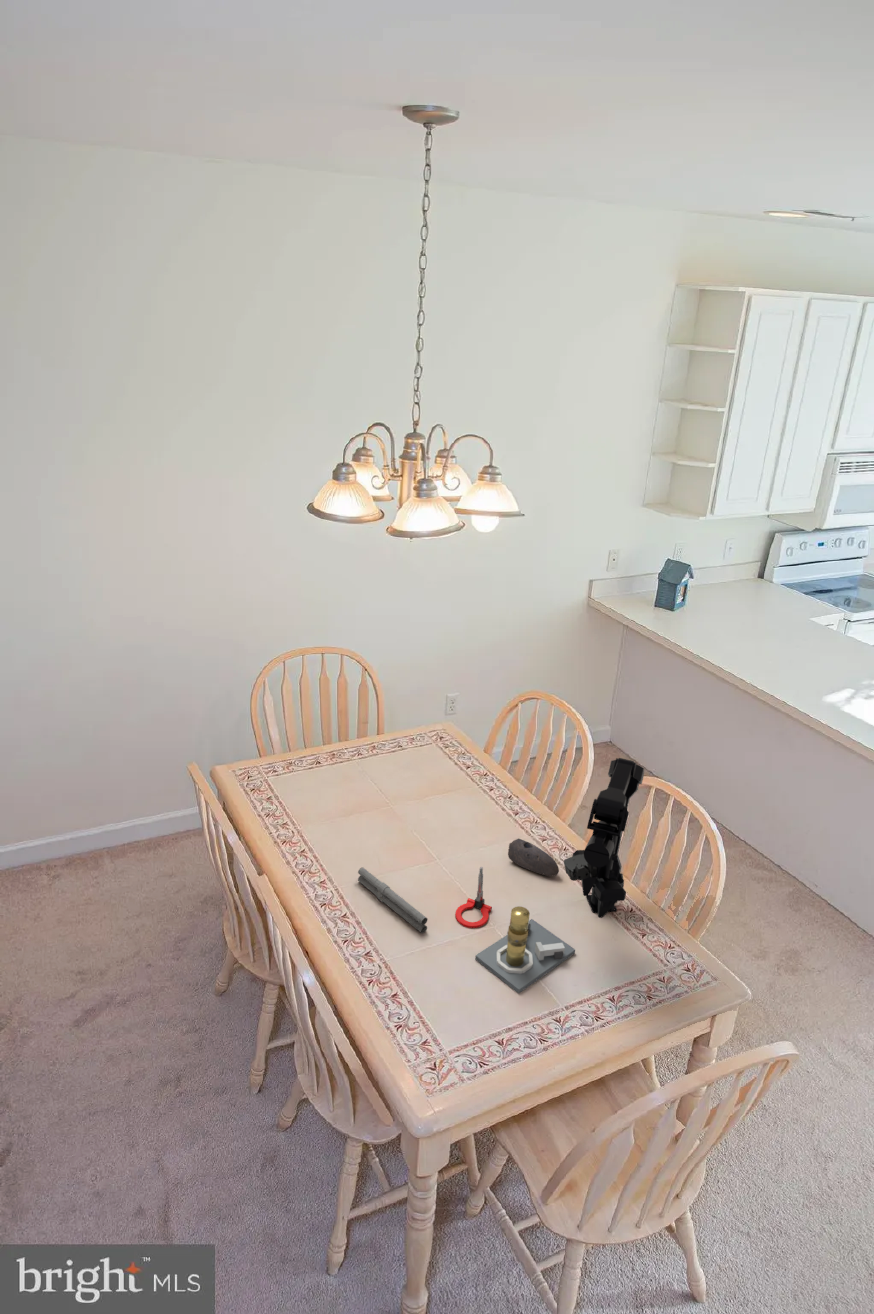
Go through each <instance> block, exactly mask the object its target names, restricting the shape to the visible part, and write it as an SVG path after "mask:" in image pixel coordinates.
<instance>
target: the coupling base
mask: <svg viewBox="0 0 874 1314" xmlns="http://www.w3.org/2000/svg"><path fill="white" fill-rule="evenodd" d="M507 937H508V934H506V935H504V936H503V937H502V938H500V939H498V940H497V941H496V942H493V943H492V944H490V945H489V946H487V947H486V948H485V949H483V950H481V951H480V952H478V953H477V954H475V960H476V961H477V962H478V963H479V964H481V966H483V967H484V968H486V970H488V971H489V972H490V973H492V974H493V975H494V976H495V977H497V978H498V979H499V980H501V981H502V982H503V983H504V984H506V985H507V986H508V987H509V988H510V989H512V990H513V991H514V992H516V993H517V994H520V993H522V992H523V991H524V990H526V989H528V987H529V988H530V986H531V985H533V984H535V982H536V983H537V981H538V980H540V979H541V978H543V976H545V975H546V974H548V973H550V972H551V971H552V970H553V969H555V968H557V967H558V966H559V965H561V964H562V963H563V962H565V961H566V960H567V959H569V958H570V957H572V956H573V955H574V954H576V949H575V948H574V947H573V946H571V945H570V944H568V943H567V942H565V941H564V940H562V939H561V938H560V937H558V936H557V935H555V934H554V933H553V932H551V931H550V930H548V929H547V928H545V927H544V926H543V925H542V924H540V923H538V922H537V921H535V920H534V919H533V918H531V919H530V918H529V923H528V938H527V943H526V947H525V955H524V962H523V964H522V965H520V966H512V965H510V964H508V963H507V961H506V954H507V945H508V940H507Z"/></svg>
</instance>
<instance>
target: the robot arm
mask: <svg viewBox="0 0 874 1314" xmlns="http://www.w3.org/2000/svg"><path fill="white" fill-rule="evenodd" d="M607 776H608V777H609V778H610V779H609V783H608V786H607V787H606V789H603V790H601V791H599V794H598V796H597V798H594V799H593V802H592V806H591V810H590V814H589V817H588V822H587V826H586V829H587V830H592V835H591V836H590V838H589V840H588V841H587V843H586V846H585V848H584V849H576V850H575V851H574V852H573V853H572V856H570V857H568V858H565V859H564V860H563V865H564V870H565V873H566V875H567V876H568V877H569V880H571V882H573V881H574V882H575V881H581V887H582V888H581V889H582V895H583V896H584V897H585V898H586V900H587V902H588V905H589V907H590V909H591V912H592V913H594V914H596V913H597V917H598V918H600V919H602V918H604V917H605V915H606V914H607V913H614V912H617V911H618V908H617V906H616V905H615V904H616V903H617V902H622V901H625V900H626V896H627V891H626V890H625V888H624V885H625V879H624V874H623V873H621V872H622V868H623V867H622V863H621V860H620V857H619V851H620V847H621V841H622V838H623V837H622V836H623V832H625V831H626V827H627V822H628V819H629V815H630V811H629V809H628V808H629V804H630V801H631V800H630V799H631V798H632V797H633V795H635V794H636V793H637V792H638V791H639V787H640V785H642V784H643V780H644V776H645V768H644V767H642V766H641V765H639V764H637V762H635V761H634V760H631V759H626V758H622V757H619V758H617V757H616V758H615V759H612V760H610V764H609V769H608V773H607ZM593 819H594V820H596V821H593Z"/></svg>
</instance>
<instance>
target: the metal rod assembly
mask: <svg viewBox="0 0 874 1314" xmlns="http://www.w3.org/2000/svg"><path fill="white" fill-rule="evenodd" d="M357 873H358V875H359V876H358V878H357V881H358V882H359V883H360V884H362V886H364V887H365V888H366V889H367V890H369V892H371V893H372V894H374V895H375V896H376V898H377V899H378V900H379V901H380V902H381V903H382V904H385V905H386V906H388V907H389V908H390V909H391V910H393V911H394V912H395V913H396V914H397V915H398V916H400V917H401V918H402V919H404V920H405V921H406V922H407V923H408V924H410V925H411V926H412V927H414V928H415V929H416V930H417V931H418V932H419V933H421V934H424V933H425V932H426V931H427V929H428V926H427V925H426V924H427V922H428V920H429V919H428V917H426V916H425V915H424V914H422V912H420V911H419V909H416V908H415V907H414V906H413V905H411V904H410V903H409V902H407V901H406V900H405V899H404V898H403V897H402V896H400V895H399V894H398V893H396V892H395V891H394V890H392V889H391V887H390V886H389V885H388V884H387V883H385V882H384V881H381V880H380V879H379V878H377V877H376V876H375V875H374V874H372V873H371V872H369V871H368V870H367V869H366V868H364V867H360V868H359V869H358V872H357Z"/></svg>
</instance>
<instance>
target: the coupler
mask: <svg viewBox="0 0 874 1314" xmlns="http://www.w3.org/2000/svg"><path fill="white" fill-rule="evenodd" d="M529 919H530V910H529V909H527V908H526V907H524V906H514V907H513V908H511V912H510V920H509V926H508V929H507V933H506V935H508V937H507V940H508V945H507V954H506V961H507V963H508V964H510V965H512V966H520V965H522V964H523V962H524V955H525V947H526V943H527V938H528V923H529Z"/></svg>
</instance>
